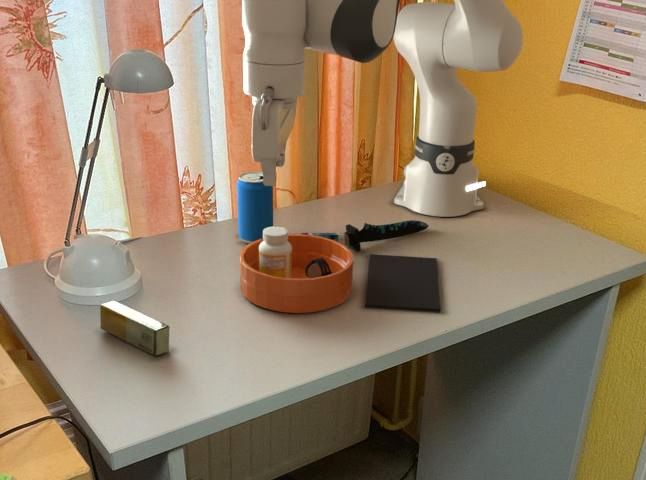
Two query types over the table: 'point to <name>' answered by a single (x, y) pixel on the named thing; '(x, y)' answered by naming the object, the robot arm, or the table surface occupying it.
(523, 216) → the table surface
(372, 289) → the mat
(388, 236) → the knife
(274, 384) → the table surface
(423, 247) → the table surface
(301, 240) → the bowl
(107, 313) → the medication box
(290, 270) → the supplement bottle
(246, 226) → the beverage can
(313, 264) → the smartwatch
